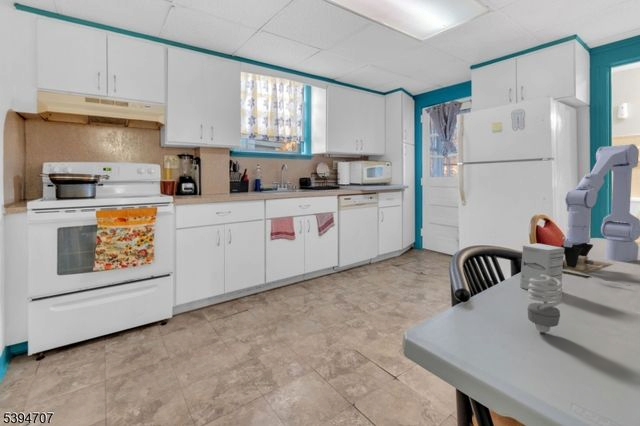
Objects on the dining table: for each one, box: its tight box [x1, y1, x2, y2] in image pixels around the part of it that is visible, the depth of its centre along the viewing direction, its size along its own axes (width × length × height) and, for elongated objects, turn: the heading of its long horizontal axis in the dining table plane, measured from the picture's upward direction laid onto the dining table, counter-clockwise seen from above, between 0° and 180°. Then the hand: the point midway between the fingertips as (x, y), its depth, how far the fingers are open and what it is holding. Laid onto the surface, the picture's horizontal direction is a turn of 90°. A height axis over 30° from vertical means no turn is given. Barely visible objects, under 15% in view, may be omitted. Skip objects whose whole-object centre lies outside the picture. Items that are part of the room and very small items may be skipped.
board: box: [562, 259, 614, 279], centre depth 111 cm, size 22×9×3 cm, turn 121°
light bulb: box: [527, 275, 563, 334], centre depth 64 cm, size 6×6×12 cm
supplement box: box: [519, 242, 565, 292], centre depth 90 cm, size 7×7×13 cm
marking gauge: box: [564, 256, 594, 270], centre depth 107 cm, size 4×7×4 cm, turn 31°
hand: (575, 265), depth 108 cm, fingers open, 6 cm apart
